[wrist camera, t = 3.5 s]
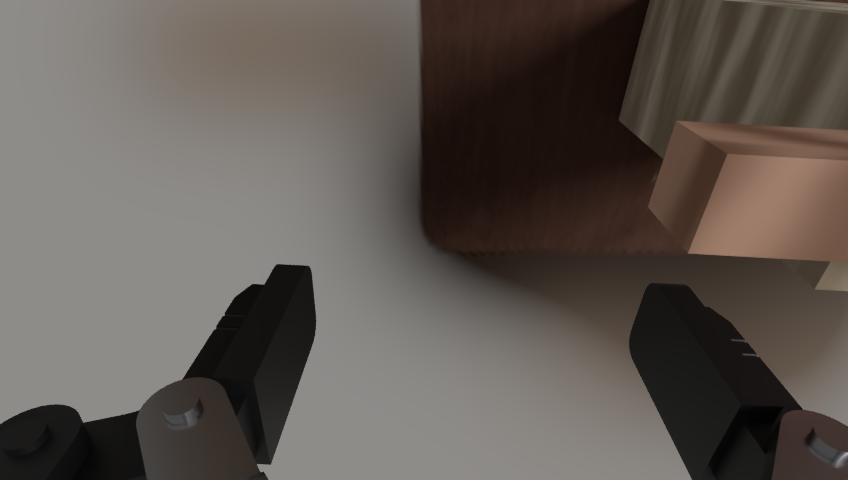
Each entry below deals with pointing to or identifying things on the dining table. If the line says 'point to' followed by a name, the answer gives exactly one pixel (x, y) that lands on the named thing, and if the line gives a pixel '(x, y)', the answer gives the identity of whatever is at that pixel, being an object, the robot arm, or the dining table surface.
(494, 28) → the dining table surface
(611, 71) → the dining table surface
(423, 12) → the dining table surface
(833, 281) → the chevron patterned box
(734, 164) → the block
